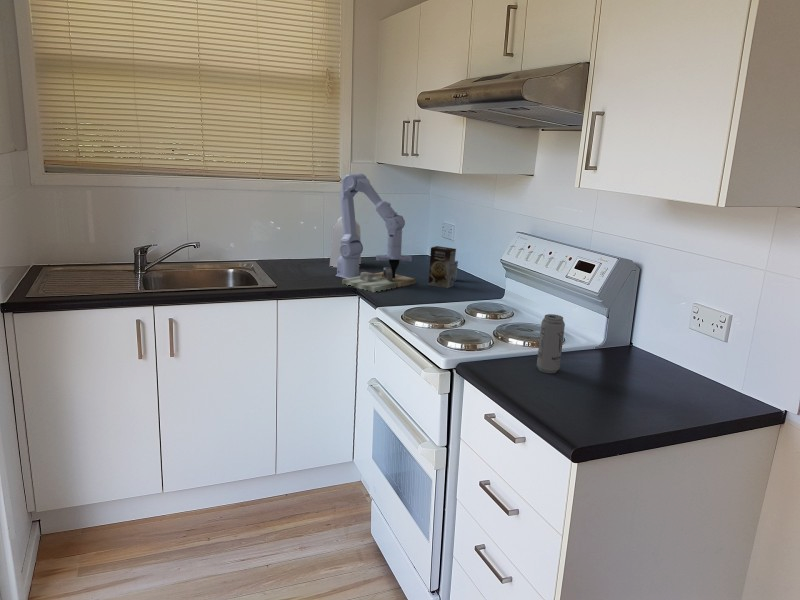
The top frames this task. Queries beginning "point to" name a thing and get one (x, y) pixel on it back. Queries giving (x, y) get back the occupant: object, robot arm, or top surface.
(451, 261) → the coffee box
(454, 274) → the medicine box
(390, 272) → the lock bar
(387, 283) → the door and jamb
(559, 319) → the energy drink can
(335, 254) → the milk
